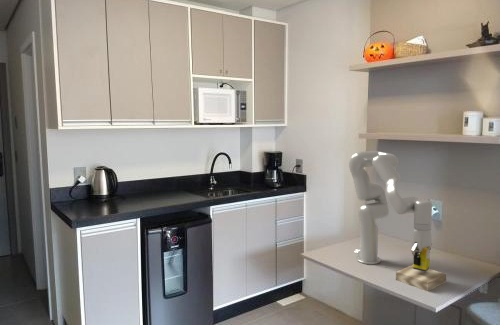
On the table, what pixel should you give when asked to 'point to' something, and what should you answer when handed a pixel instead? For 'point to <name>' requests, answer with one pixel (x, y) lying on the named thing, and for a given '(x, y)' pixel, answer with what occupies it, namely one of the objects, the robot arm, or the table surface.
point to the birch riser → (421, 278)
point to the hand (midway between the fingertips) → (421, 262)
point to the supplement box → (423, 260)
